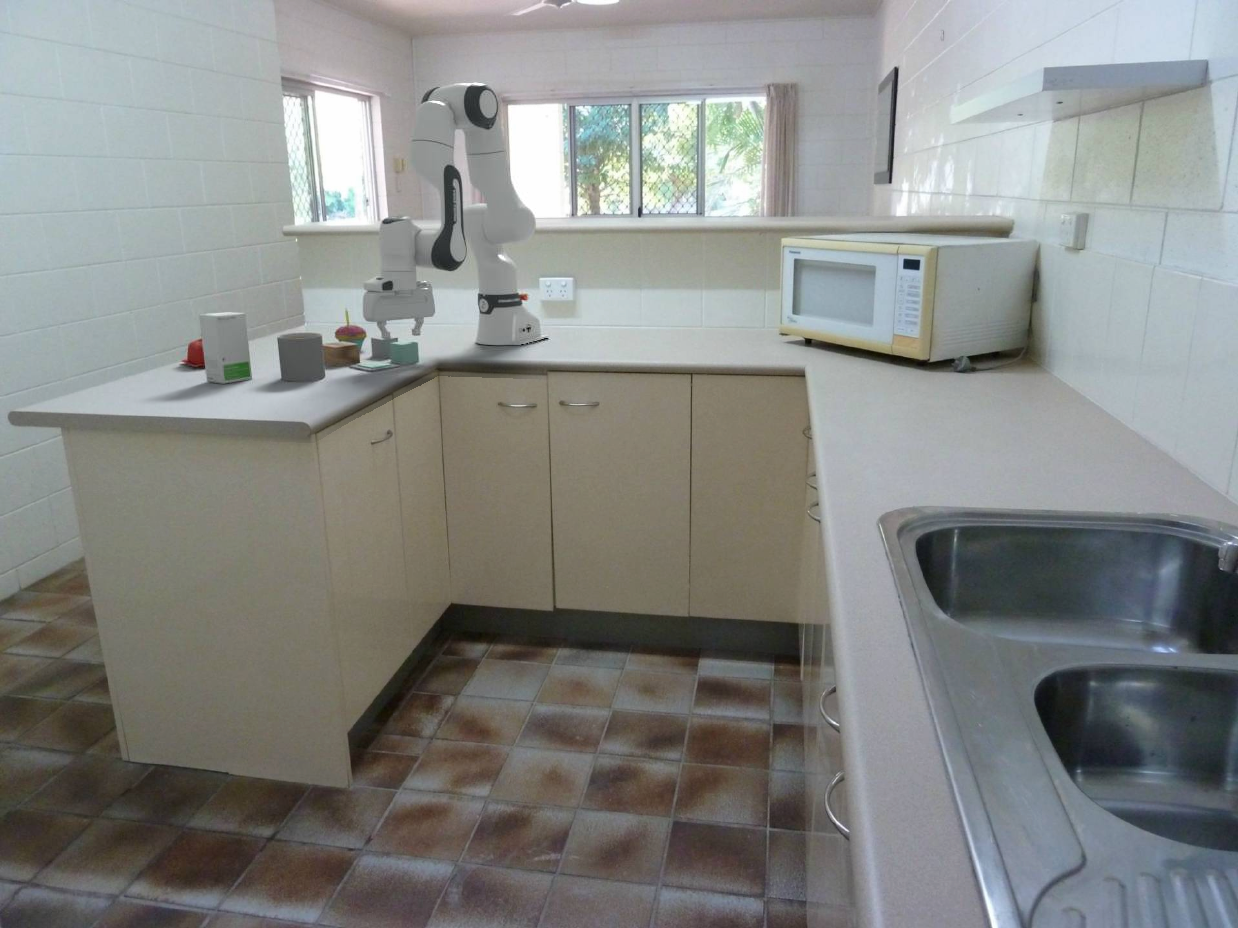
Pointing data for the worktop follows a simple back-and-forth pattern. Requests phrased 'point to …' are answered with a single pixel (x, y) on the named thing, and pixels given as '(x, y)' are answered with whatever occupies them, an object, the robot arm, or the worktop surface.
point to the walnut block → (341, 353)
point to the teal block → (404, 352)
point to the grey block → (382, 346)
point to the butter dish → (195, 354)
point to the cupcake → (351, 333)
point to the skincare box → (225, 347)
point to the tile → (375, 366)
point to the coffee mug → (301, 357)
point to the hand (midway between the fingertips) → (401, 337)
